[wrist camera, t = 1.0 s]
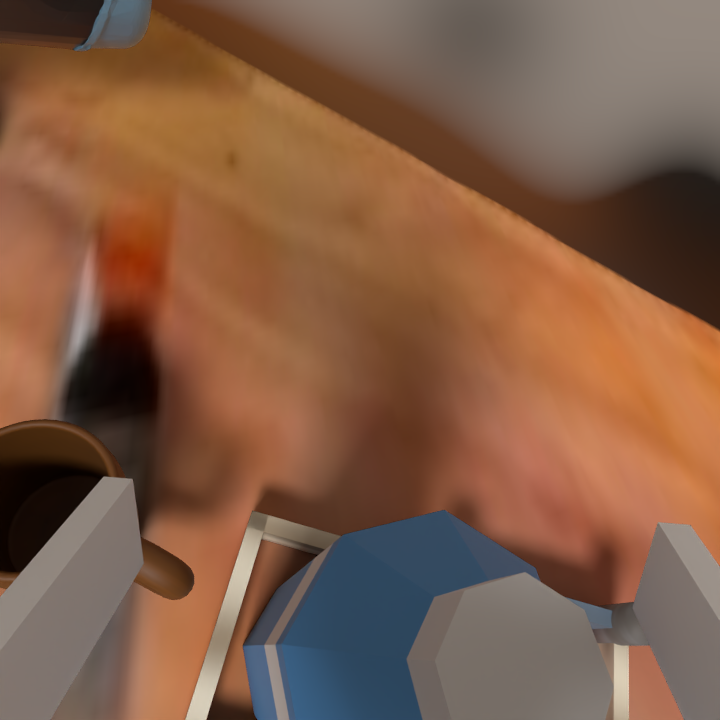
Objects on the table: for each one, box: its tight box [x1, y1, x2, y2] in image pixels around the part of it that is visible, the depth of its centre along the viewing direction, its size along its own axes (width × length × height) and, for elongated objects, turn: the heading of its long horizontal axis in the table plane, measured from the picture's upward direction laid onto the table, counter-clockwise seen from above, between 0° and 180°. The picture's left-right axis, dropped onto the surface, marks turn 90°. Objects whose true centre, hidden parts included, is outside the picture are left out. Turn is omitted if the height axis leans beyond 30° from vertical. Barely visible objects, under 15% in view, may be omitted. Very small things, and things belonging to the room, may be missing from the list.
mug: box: [0, 419, 194, 600], centre depth 30 cm, size 12×8×9 cm, turn 64°
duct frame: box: [185, 511, 649, 720], centre depth 33 cm, size 14×26×5 cm, turn 77°
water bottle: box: [243, 510, 614, 720], centre depth 23 cm, size 9×9×25 cm
